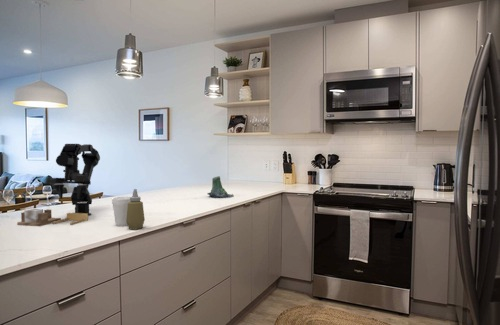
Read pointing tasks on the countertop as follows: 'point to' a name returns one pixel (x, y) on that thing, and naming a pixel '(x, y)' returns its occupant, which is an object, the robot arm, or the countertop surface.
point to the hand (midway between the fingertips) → (70, 198)
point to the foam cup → (120, 210)
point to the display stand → (36, 217)
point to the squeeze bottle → (135, 212)
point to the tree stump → (218, 189)
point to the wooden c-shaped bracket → (74, 218)
